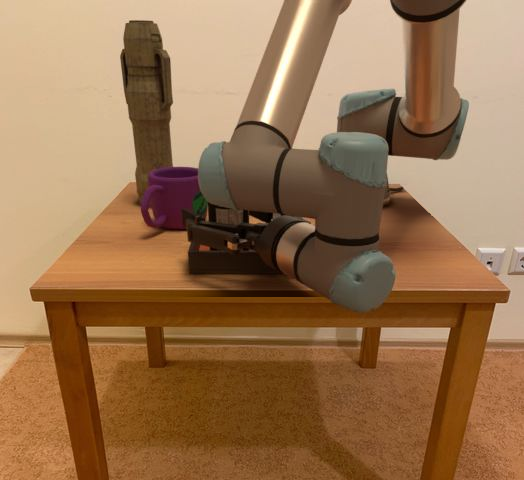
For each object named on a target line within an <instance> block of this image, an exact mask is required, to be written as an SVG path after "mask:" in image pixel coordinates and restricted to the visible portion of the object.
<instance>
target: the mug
mask: <svg viewBox="0 0 524 480" xmlns="http://www.w3.org/2000/svg"><path fill="white" fill-rule="evenodd" d="M148 184H149V188H148V189H147V190H146V191H145V194H144V196H143V199H142V203H141V205H140V213H141V217H142V219H143V222H144V223H145V224H146V226H147V227H149V228H151V229H157V228H160V227H161V228H165V229H169V230H187V228H186V227H185V226H183V221H182V209H183V208H187V209H189V210H190V211H192V212H194V213H196V214H198V215H200V216H202V217H204V218H205V221H207V217H208V201H207V200H206V199H205V198H204V195H203V194H202V192H201V190H200V187H199V182H198V167H193V166H173V167H166V168H159V169H155V170H153V171H150V172H149V173H148ZM150 200H151V206H152V207H151V211H152V215H153V218H154V220H153V219H152V217H151V214H150V212H149V211H150V210H149V208H150V207H149V203H150Z"/></svg>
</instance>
